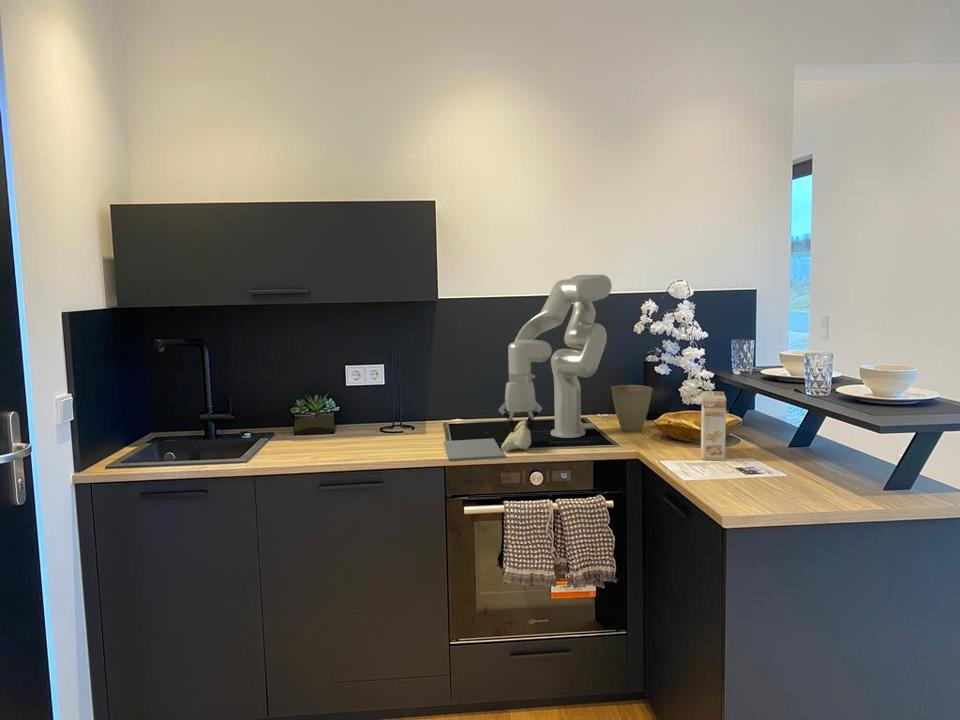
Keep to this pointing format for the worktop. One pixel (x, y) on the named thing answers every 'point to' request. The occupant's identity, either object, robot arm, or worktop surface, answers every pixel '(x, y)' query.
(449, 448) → the mat
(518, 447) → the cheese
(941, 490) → the worktop surface
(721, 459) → the coffeecake box
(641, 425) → the plant pot
